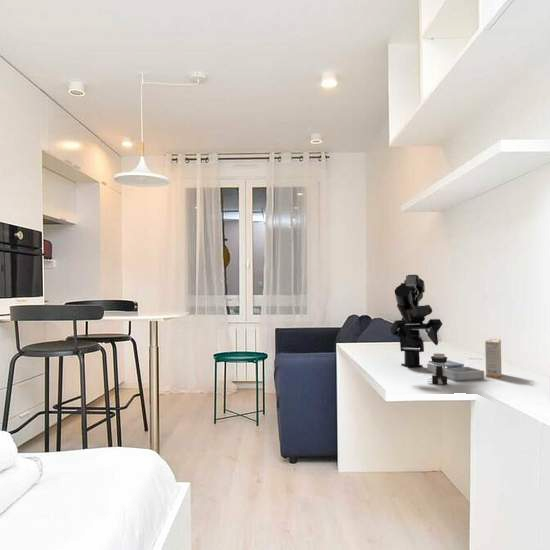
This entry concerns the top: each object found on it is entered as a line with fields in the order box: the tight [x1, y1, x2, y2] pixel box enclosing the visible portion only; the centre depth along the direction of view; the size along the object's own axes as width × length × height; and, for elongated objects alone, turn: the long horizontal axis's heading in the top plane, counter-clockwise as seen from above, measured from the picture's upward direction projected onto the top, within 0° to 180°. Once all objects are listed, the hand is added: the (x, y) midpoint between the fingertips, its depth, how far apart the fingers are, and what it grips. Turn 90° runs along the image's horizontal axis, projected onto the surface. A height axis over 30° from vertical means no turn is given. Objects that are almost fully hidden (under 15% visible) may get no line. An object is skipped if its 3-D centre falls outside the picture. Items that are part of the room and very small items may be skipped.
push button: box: [426, 353, 448, 385], centre depth 156 cm, size 7×5×10 cm
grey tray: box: [426, 363, 485, 382], centre depth 170 cm, size 19×12×3 cm, turn 15°
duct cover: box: [428, 359, 465, 368], centre depth 174 cm, size 9×9×1 cm
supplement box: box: [484, 338, 502, 379], centre depth 169 cm, size 8×5×13 cm, turn 149°
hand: (425, 345), depth 162 cm, fingers open, 9 cm apart
